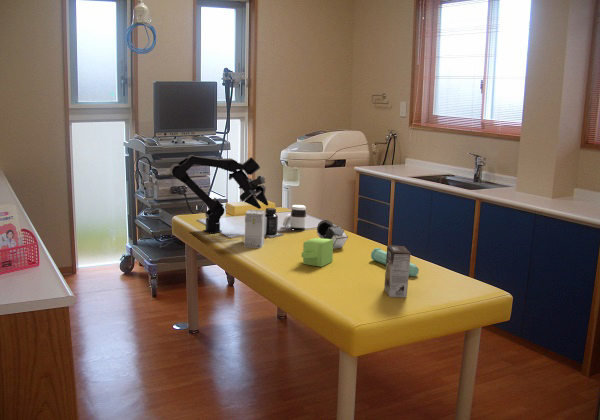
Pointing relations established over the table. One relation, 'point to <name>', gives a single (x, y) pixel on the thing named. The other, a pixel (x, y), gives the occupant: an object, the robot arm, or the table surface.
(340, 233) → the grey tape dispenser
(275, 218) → the supplement bottle
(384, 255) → the container
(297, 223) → the white and brown mug
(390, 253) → the coffee box
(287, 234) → the table surface
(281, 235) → the grey mat
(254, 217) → the circuit breaker
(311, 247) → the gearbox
